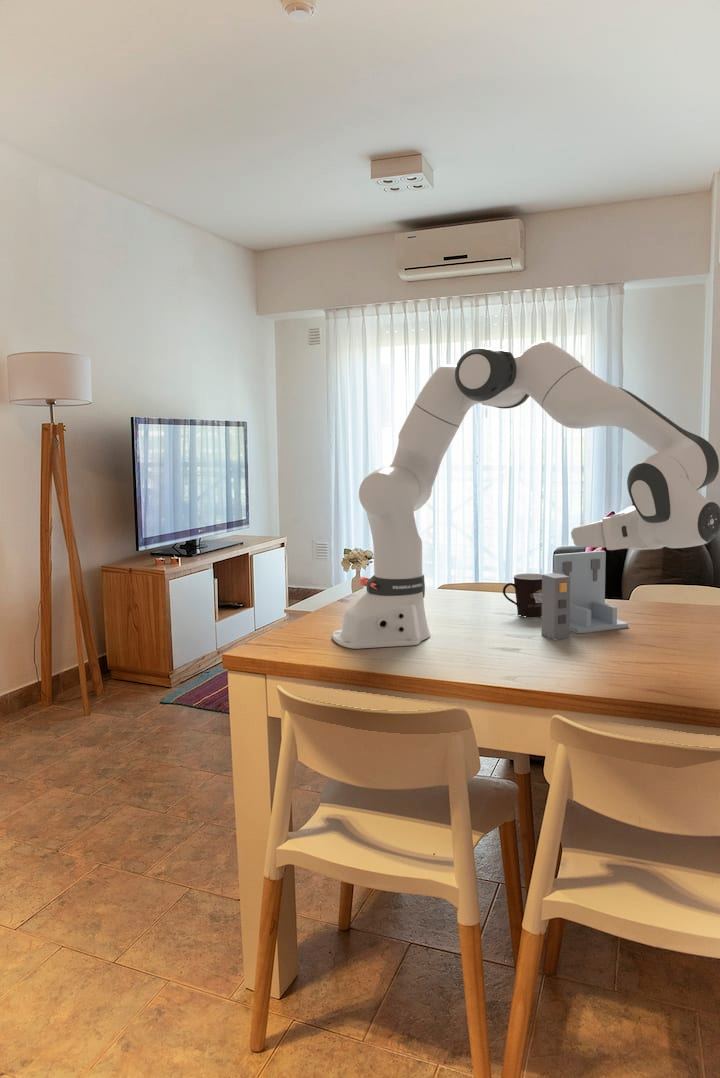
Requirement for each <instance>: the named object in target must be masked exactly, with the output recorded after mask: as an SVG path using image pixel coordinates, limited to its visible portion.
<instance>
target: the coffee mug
mask: <svg viewBox="0 0 720 1078" xmlns="http://www.w3.org/2000/svg"><path fill="white" fill-rule="evenodd" d="M542 575H543V574H542V573H517V574H514V575H513V582H514V583H512V582H508V583H507V584H505V585H504V586H503V587H502V595H503V596H504V597H505V598H506V599H507V601H509V602H511V603H512V604H514V605H515V606H516V608H517V616H518V615H521V616H526V617H539V618H542V617H541V616H542ZM509 586H512V587H513V588H514V590H515V591H514V592H515V600H516V601H515V600H513V599H511V598H509V596H508V595H507V593H506V589H507V588H508V587H509Z"/></svg>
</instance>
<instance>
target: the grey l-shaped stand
mask: <svg viewBox="0 0 720 1078" xmlns="http://www.w3.org/2000/svg"><path fill="white" fill-rule="evenodd" d="M606 553H607V552H606V551H605V550H593V551H579V552H568V553H555V554H553V558H552V559H553V566H552V567H553V570H552V571H553V572H552V574H554V573H558V574H562V575H566V576H569V577H570V629H569V632H572V631H573V632H572V633H575V634H577V633H579V634H586V633H593V632H594V633H595V632H603V631H610V630H611V631H612V630H619V629H626V628H628V629H629V623H628V622H626V621H622V620H620V619H618V606H614V605H611V604H608V603H606V602H605V600H606V598H605V597H606V557H607V555H606Z"/></svg>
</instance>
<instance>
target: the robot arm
mask: <svg viewBox="0 0 720 1078" xmlns="http://www.w3.org/2000/svg"><path fill="white" fill-rule="evenodd" d="M529 397H530V398H532V399H533V400H534V401H535V402H536V403H537V404H538V405H539V406H540V408H542V409H543V410H544V411H545V412H546V414H548V415H549V416H550V418H552V419H553V420H554V421H556V423H559V424H560V425H562V426H563V427H565V428H568V429H579V430H582V429H590V428H596V427H615V428H616V427H617V428H621V429H625V430H627V431H629V432H631V433H632V434H633V435H635V436H636V437H637V438H639V439H640V440H641V441H642V442H644V443H645V444H647V445H648V447H651V448H652V449H653V450H655V451H656V452H655V453H654V454H652V455H650V456H648V457H647V458H645V459H643V460H642V461H640V462H639V463H637V464H635V465H634V466H633V467H632V468H631V469H630V470H629V472H628V474H627V479H626V486H627V491H628V495H629V497H630V500H631V504H632V505H631V506H627V508H625V509H623V510H621V511H620V512H617V513H615V514H611V515H608V516H606V517H603V518H602V519H601V520H599V521H594V522H590V523H587V524H582V525H579V526H576V527H573V528H572V529H571V532H570V534H571V535H570V536H571V539H572V542H573V544H574V546H576V547H578V548H579V547H580V548H583V547H584V548H606V550H607V551H618V550H619V551H620V550H634V551H645V550H659V549H663V548H669V549H685V548H692V547H699V546H701V545H707V544H708V543H710V542H711V541H713V539H714V538H716V536H717V535H718V534H719V532H720V505H719V504H718V503H717V502H716V501H713V500H710V499H708V498H706V497H705V496H703V494H701V493H700V492H699V491H698V490H699V489H702V488H705V487H706V486H708V485H710V484H712V483H713V482H714V481H715V480H716V478H717V476H718V474H719V470H720V464H719V463H720V462H719V457H718V453H717V451H716V449H715V448H714V446H713V445H712V444H711V443H710V442H709V441H708V440H706V439H705V438H703V437H701V436H700V435H697V434H695V433H692V432H690V431H688V430H685V429H684V428H682V427H680V426H679V425H678V424H676V423H675V422H673V421H672V420H671V419H670V418H668V417H667V416H665V415H664V414H662V413H661V412H660V411H659V410H657V409H655V408H654V407H652V406H651V405H650V404H648V403H647V402H645V400H643V399H641V398H640V397H638V396H637V395H635V394H634V393H633V392H630V391H629V390H627V389H626V388H625V389H624V388H622V387H618V386H616V385H613V384H611V383H609V382H607V381H605V380H603V379H602V378H600V377H599V376H597V375H596V374H594V373H592V372H591V371H590V370H589V369H588V368H587V367H585V366H584V365H583V364H582V363H581V362H580V361H579V360H577V359H576V357H574V356H572V355H571V354H570V353H568V352H567V351H566V350H565V349H563V348H561V347H559V346H558V345H556V344H554V343H553V342H550V341H546V340H542V341H537V342H535V343H532V344H531V345H529V346H528V347H527V348H526V349H525V350H524V351H523V352H522V353H521V354H519V355H516V356H515V355H513V353H512V352H511V351H507V350H503V349H497V348H492V347H475V348H472V349H470V350H468V351H466V352H465V353H464V354H463V355H461V357H460V358H459V360H458V361H457V363H456V364H452V363H449V364H443V365H442V364H441V365H440V366H439V367H438V368H437V369H436V370H435V371H434V372H433V373H432V375H431V376H430V377H429V379H428V380H427V381H426V383H425V385H424V386H423V388H422V389H421V391H420V392H419V394H418V396H417V398H416V400H415V402H414V403H413V405H412V407H411V409H410V411H409V413H408V415H407V417H406V419H405V421H404V423H403V425H402V427H401V429H400V431H399V433H398V442H397V443H398V444H397V448H396V452H395V455H394V457H393V461H392V462H391V464H390V466H387V467H381V468H378V469H375V470H374V471H372V472H371V473H369V474H368V475H367V476H365V478H364V479H363V480H362V481H361V483H360V485H359V489H358V497H359V498H358V499H359V501H360V502H359V503H360V504H361V506H362V508H363V509H364V511H365V512H366V513H365V514H367V515H366V516H367V519H368V523H369V528H370V533H371V537H372V546H373V570H374V571H373V572H374V573H373V575H372V576H371V577H370V578H367V577H366V576H361V577H360V579H359V584H360V585H361V586H363V587H366V593H364V594H363V595H362V596H361V597H360V598H358V600H356V601H355V602H353V604H351V605H350V606H349V607H348V608H346V610H344V612H343V613H344V614H343V616H342V623H341V624H342V625H341V629H337V630H334V631H333V632H332V640H333V641H334V642H335V643H337V644H338V645H339V646H341V647H344V648H348V649H371V648H373V649H375V648H388V647H404V646H405V647H406V646H418V645H419V644H421V642H422V641H424V640H426V639H427V640H428V638H430V637H431V632H430V628H429V626H428V622H427V621H428V620H427V616H426V609H425V602H424V601H425V600H424V599H425V595H426V594H425V592H426V585H425V584H426V583H425V575H424V573H423V541H422V538H421V537H420V535H419V532H418V531H419V530H418V528H417V524H416V523H417V522H416V519H415V511H418V510H420V509H421V508H422V507H423V506H425V504H426V503H427V502H428V500H429V499H430V497H431V495H432V490H433V486H434V483H435V481H436V478H437V474H438V473H439V470H440V469H439V468H440V466H441V463H442V461H443V458H444V456H445V455H446V453H447V451H448V448H449V447H450V445H451V443H452V441H453V440H454V437H455V436H456V433H458V429H459V428H460V426H461V424H462V422H463V421H464V419H465V417H466V415H467V413H468V411H469V410H470V409H471V408H472V407H473V406H475V405H477V404H481V405H483V406H488V407H493V408H497V409H503V410H504V409H513V408H517V407H520V406H521V405H523V403H525V402H526V401H527V400H528V399H529Z"/></svg>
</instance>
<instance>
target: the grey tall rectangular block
mask: <svg viewBox="0 0 720 1078" xmlns="http://www.w3.org/2000/svg"><path fill="white" fill-rule="evenodd" d="M569 629H570V577H569V576H566V575H562V574H558V573H554V574H553V573H546V574H545V573H544V574H543V575H542V617H541V634H542V635H541V636H543V635H544V636H543V637H545V636H546V638H548V637H549V639H550V638H551V639H550V640H553V639H554V640H553V641H556V640H555V639H559V640H565V639H564V638H567V639H570V630H569Z"/></svg>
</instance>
